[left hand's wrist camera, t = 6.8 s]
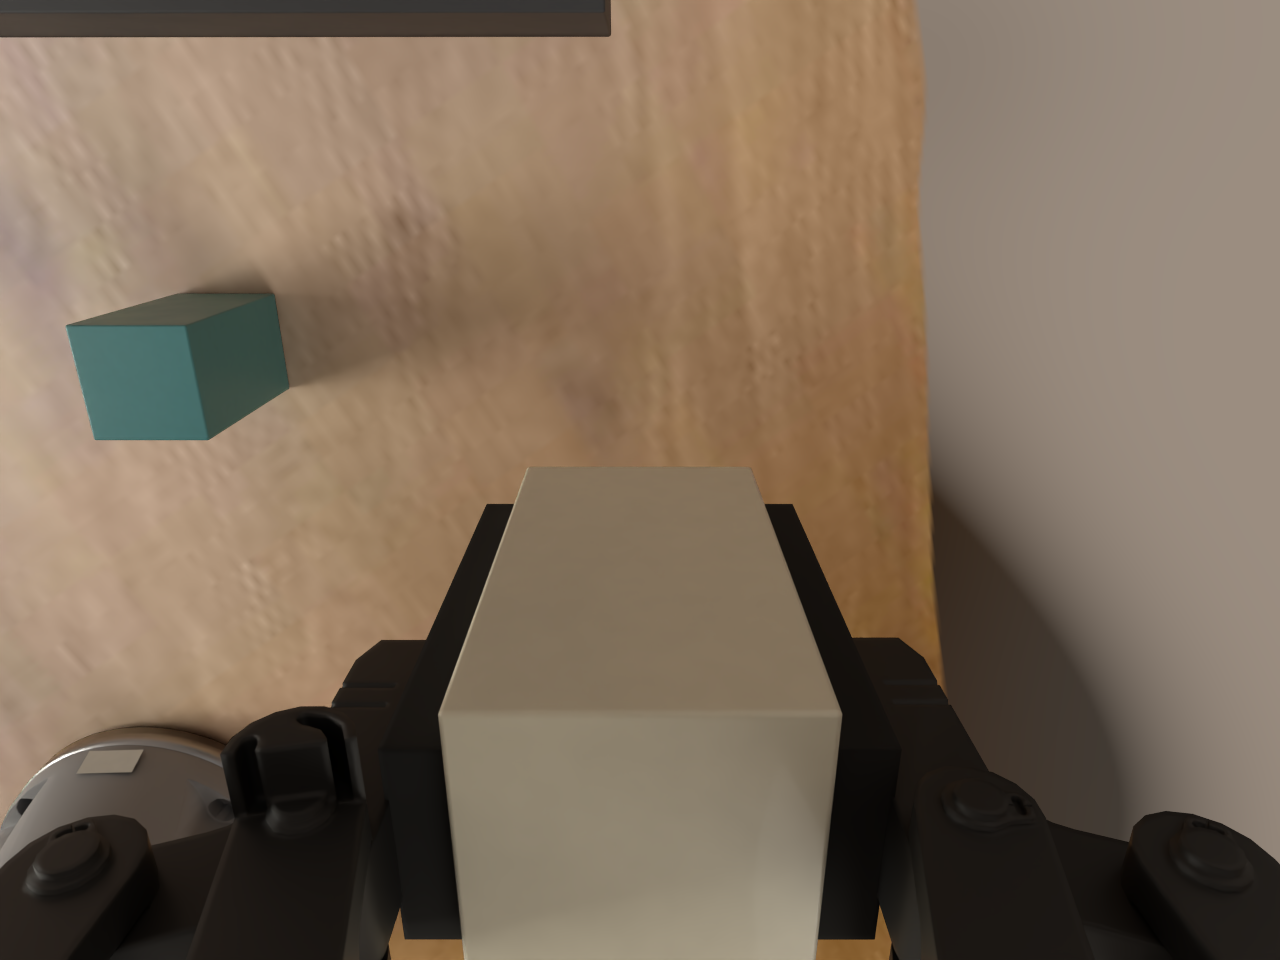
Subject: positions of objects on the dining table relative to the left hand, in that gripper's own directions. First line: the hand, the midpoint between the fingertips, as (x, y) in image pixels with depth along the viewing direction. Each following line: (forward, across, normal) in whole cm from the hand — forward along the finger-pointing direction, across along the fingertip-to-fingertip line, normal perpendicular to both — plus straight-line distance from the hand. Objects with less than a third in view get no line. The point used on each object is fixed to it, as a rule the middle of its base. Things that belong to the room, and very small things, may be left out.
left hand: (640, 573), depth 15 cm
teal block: (+21, +17, 0) cm, 27 cm away
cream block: (0, 0, 0) cm, 0 cm away
